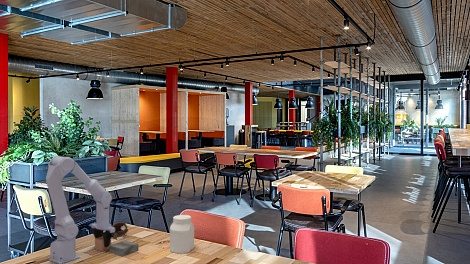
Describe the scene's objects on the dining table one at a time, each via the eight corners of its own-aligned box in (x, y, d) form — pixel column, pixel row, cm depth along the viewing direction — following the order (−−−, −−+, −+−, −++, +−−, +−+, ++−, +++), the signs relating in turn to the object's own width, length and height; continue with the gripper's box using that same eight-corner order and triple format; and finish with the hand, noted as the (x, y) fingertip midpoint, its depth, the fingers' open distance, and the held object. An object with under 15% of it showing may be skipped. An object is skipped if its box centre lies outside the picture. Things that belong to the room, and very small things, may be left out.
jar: (187, 254, 164) (187, 220, 163) (167, 252, 166) (167, 219, 166) (196, 246, 175) (196, 214, 175) (177, 244, 177) (177, 213, 177)
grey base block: (122, 257, 161) (122, 249, 161) (109, 253, 166) (109, 245, 166) (138, 251, 168) (138, 243, 168) (125, 247, 174) (125, 240, 173)
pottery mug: (129, 234, 196) (131, 222, 192) (123, 247, 187) (125, 235, 184) (107, 228, 195) (108, 217, 191) (100, 241, 187) (101, 229, 183)
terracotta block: (101, 251, 167) (101, 240, 167) (95, 249, 170) (94, 238, 170) (111, 248, 172) (110, 237, 171) (104, 246, 174) (104, 235, 174)
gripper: (120, 216, 170) (120, 246, 170) (100, 212, 178) (100, 240, 178) (107, 220, 164) (107, 250, 164) (87, 215, 172) (87, 244, 172)
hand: (103, 245), depth 171 cm, fingers closed on terracotta block, 5 cm apart
